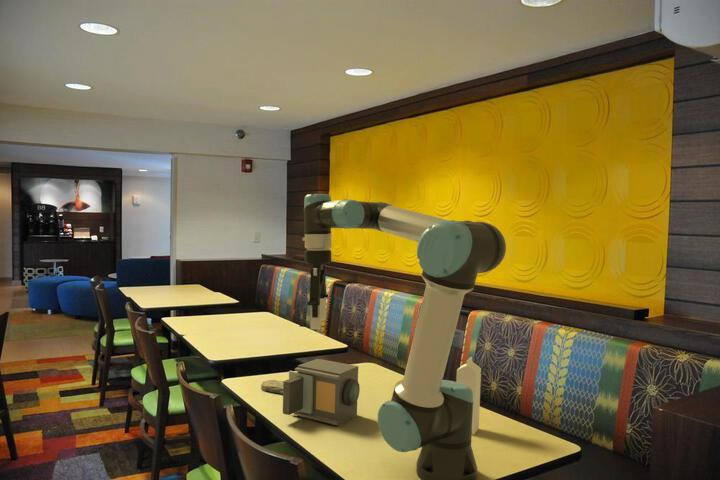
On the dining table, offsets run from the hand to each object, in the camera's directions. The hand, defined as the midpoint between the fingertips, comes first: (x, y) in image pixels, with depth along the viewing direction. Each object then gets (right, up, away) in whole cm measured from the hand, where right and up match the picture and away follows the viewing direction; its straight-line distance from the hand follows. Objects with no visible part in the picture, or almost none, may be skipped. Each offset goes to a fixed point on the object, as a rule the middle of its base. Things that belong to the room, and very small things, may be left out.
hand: (318, 324), depth 156 cm
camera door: (-9, -30, +17) cm, 36 cm away
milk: (+44, -34, +13) cm, 58 cm away
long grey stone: (-8, -32, +43) cm, 54 cm away
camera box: (+2, -33, +21) cm, 39 cm away
